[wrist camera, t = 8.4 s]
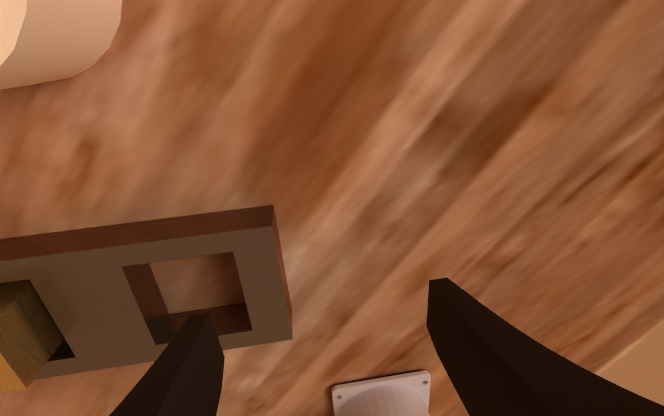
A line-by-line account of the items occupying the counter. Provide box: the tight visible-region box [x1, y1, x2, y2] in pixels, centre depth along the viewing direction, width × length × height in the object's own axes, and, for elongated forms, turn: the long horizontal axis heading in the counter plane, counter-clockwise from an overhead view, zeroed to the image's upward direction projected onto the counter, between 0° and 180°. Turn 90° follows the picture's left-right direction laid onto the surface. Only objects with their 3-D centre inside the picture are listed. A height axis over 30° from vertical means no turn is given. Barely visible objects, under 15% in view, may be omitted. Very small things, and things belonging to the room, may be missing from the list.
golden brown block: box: [0, 279, 64, 393], centre depth 18 cm, size 4×4×5 cm
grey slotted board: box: [0, 205, 292, 379], centre depth 19 cm, size 22×8×2 cm, turn 94°
